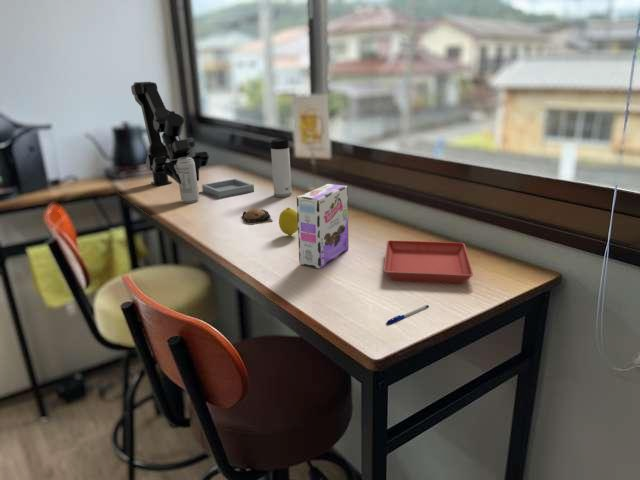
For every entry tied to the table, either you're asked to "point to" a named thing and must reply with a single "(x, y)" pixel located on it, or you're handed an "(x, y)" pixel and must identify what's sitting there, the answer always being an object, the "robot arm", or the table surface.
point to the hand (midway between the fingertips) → (189, 181)
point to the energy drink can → (187, 180)
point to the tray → (227, 188)
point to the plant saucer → (427, 261)
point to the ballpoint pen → (405, 315)
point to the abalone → (256, 216)
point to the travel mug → (281, 167)
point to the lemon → (288, 221)
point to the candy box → (322, 225)
